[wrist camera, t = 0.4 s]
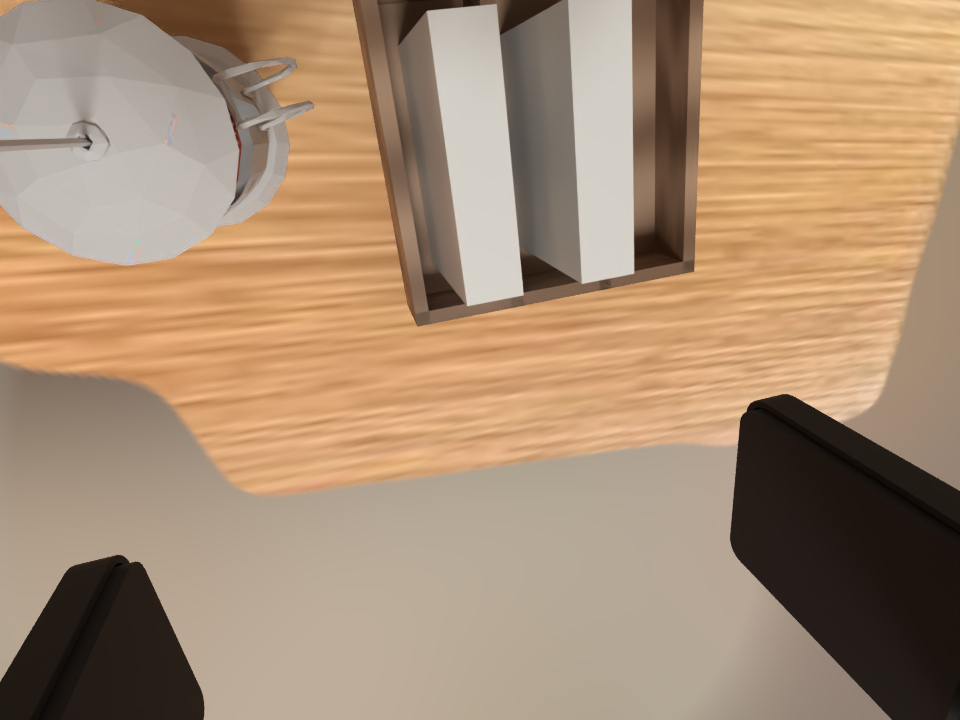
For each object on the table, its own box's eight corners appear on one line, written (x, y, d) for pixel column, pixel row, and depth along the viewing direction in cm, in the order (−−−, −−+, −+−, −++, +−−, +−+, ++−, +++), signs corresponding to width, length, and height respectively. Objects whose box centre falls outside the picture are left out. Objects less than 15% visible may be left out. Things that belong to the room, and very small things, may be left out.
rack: (351, -7, 30) (354, -29, 26) (659, -34, 33) (705, -57, 29) (407, 305, 37) (417, 326, 33) (657, 257, 40) (694, 271, 36)
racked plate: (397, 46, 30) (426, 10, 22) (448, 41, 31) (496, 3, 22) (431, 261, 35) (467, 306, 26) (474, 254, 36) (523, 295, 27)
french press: (48, 72, 28) (-1067, -166, 6) (268, -4, 29) (71, -460, 7) (158, 254, 32) (-228, 532, 10) (347, 182, 33) (388, 285, 11)
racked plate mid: (499, 35, 32) (567, -3, 23) (546, 30, 32) (631, -10, 23) (519, 246, 36) (581, 283, 27) (559, 239, 37) (634, 273, 28)
